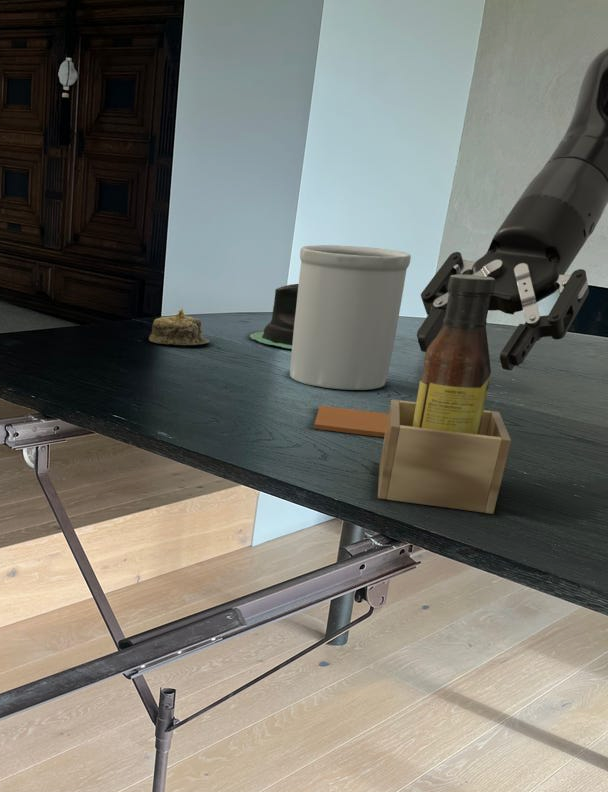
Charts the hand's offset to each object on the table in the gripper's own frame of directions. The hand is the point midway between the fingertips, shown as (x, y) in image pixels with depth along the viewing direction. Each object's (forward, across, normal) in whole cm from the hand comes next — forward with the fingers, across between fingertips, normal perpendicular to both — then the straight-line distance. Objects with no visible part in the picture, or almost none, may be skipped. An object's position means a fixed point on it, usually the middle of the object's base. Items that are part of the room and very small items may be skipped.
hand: (462, 355), depth 92 cm
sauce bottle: (+10, 0, +9) cm, 13 cm away
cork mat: (-1, -19, +20) cm, 27 cm away
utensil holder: (-14, -36, +33) cm, 51 cm away
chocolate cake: (-29, -57, +48) cm, 80 cm away
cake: (-14, -67, +32) cm, 75 cm away
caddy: (+9, 0, +9) cm, 13 cm away
